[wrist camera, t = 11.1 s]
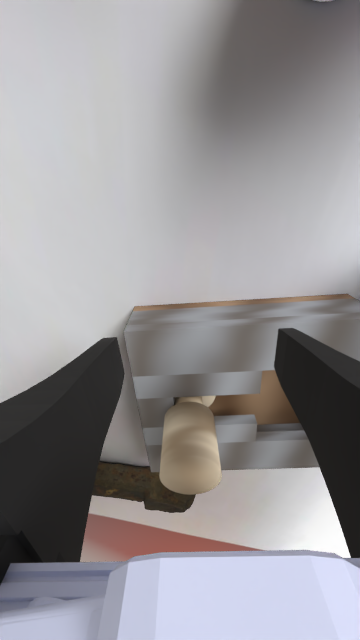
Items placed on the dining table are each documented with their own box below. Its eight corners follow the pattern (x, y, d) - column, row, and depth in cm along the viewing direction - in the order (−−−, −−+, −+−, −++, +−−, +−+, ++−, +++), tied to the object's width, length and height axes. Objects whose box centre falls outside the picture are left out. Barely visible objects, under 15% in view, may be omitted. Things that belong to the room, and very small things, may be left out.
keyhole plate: (347, 293, 21) (386, 317, 17) (314, 427, 28) (336, 466, 24) (134, 306, 22) (123, 332, 18) (155, 433, 29) (150, 472, 25)
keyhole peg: (213, 359, 23) (228, 448, 15) (215, 399, 25) (230, 497, 17) (158, 363, 23) (145, 453, 15) (166, 403, 25) (157, 500, 17)
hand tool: (47, 464, 32) (27, 505, 28) (46, 445, 30) (24, 485, 26) (191, 483, 34) (192, 524, 30) (198, 466, 32) (200, 507, 28)
